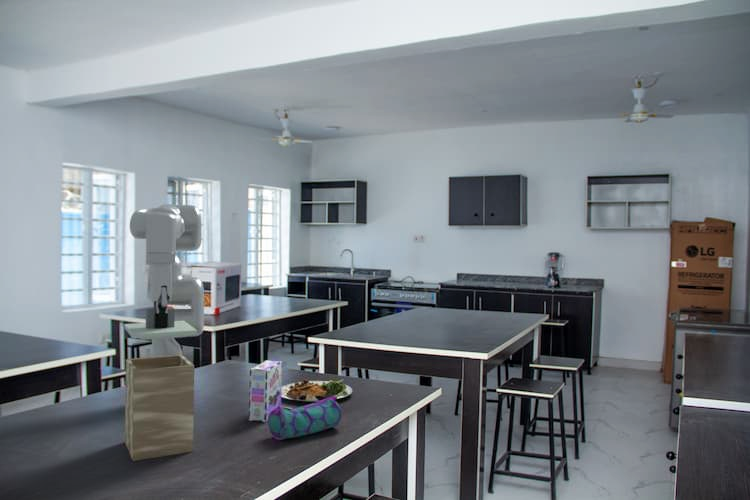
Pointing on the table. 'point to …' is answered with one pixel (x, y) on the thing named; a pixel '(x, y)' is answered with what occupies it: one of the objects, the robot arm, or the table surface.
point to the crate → (159, 406)
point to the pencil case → (304, 419)
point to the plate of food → (315, 390)
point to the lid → (150, 332)
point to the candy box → (264, 390)
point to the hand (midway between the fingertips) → (160, 326)
